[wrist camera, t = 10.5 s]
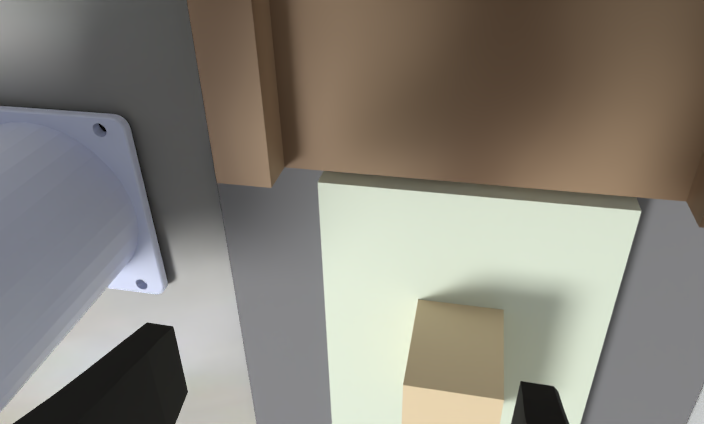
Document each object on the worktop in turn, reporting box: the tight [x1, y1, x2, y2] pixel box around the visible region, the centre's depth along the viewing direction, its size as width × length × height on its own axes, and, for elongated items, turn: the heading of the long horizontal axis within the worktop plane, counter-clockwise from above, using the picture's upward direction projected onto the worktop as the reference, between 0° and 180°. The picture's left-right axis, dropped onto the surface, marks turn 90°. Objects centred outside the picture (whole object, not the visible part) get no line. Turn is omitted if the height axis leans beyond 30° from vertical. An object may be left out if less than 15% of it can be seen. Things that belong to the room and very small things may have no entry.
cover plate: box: [318, 171, 641, 424], centre depth 21 cm, size 10×14×5 cm
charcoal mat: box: [217, 167, 704, 424], centre depth 24 cm, size 18×16×1 cm
